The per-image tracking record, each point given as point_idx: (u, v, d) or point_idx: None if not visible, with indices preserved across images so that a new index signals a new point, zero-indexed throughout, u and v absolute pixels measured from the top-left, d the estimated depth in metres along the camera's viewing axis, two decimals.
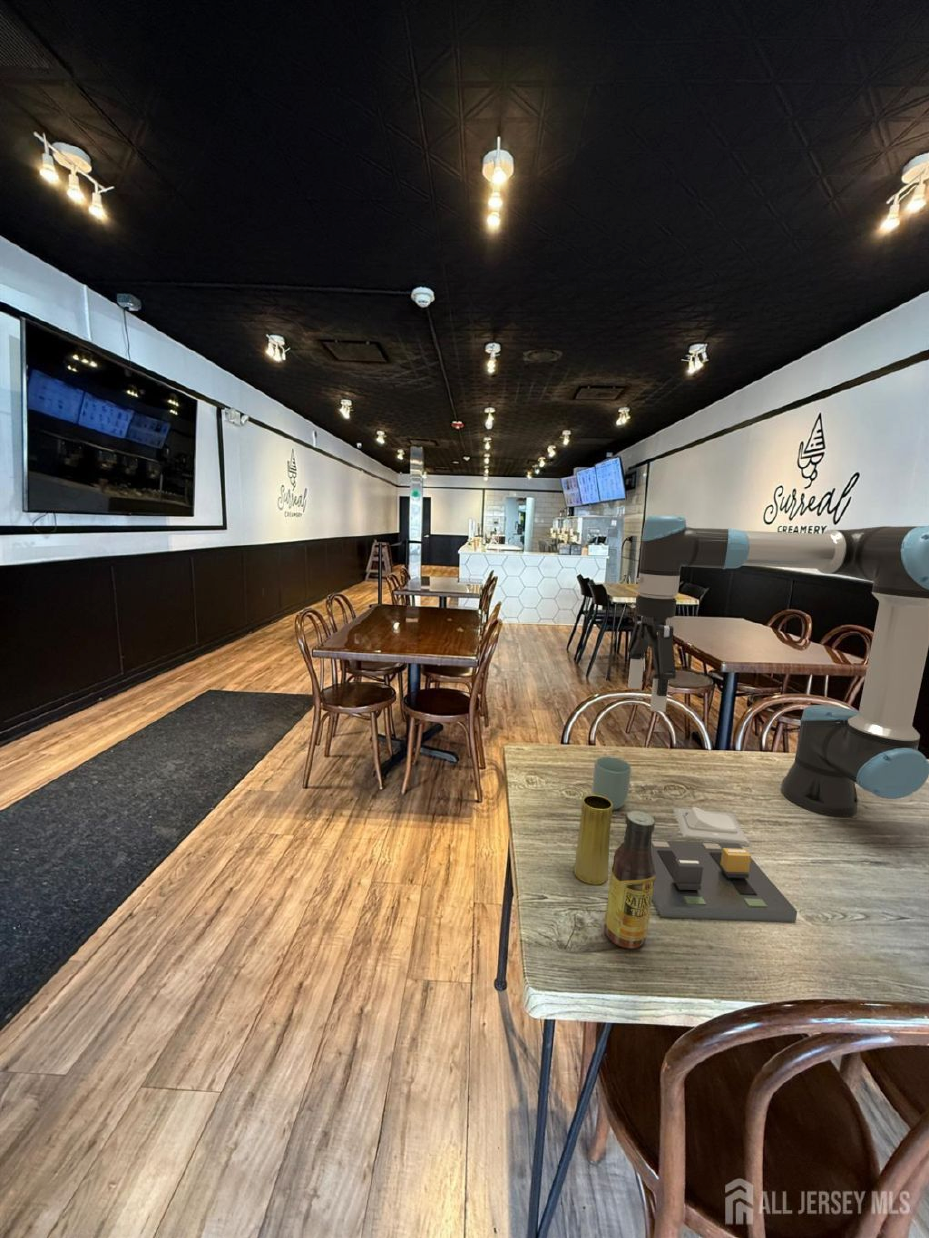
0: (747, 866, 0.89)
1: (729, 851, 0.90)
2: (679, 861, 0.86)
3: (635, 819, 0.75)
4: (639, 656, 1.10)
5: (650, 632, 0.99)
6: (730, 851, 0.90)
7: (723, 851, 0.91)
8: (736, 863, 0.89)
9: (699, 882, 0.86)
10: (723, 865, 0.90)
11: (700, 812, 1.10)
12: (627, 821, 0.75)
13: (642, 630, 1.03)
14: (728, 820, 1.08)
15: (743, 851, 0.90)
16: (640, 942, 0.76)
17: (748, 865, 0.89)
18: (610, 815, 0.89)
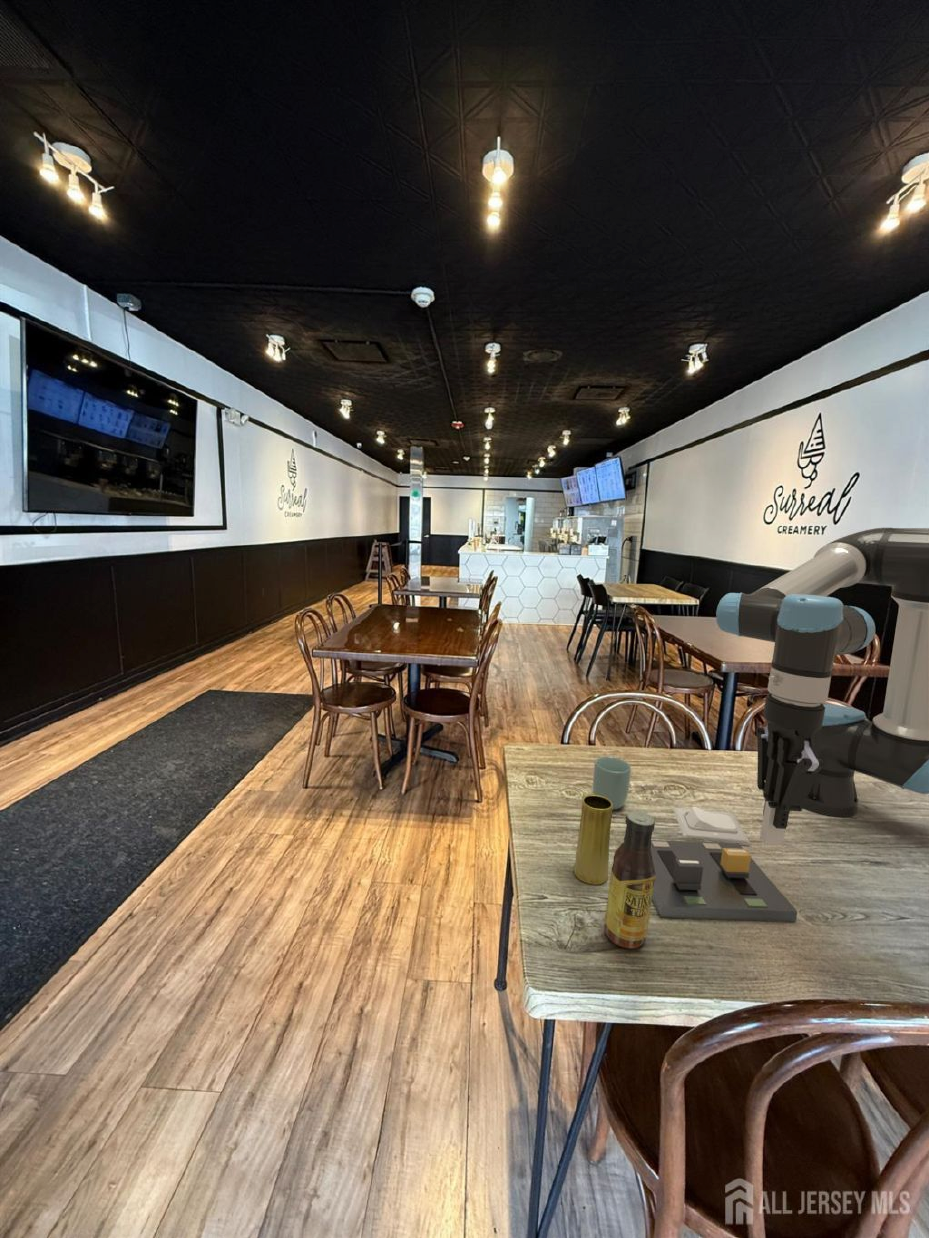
0: (747, 866, 0.89)
1: (729, 851, 0.90)
2: (679, 861, 0.86)
3: (635, 819, 0.75)
4: None
5: (786, 750, 0.75)
6: (730, 851, 0.90)
7: (723, 851, 0.91)
8: (736, 863, 0.89)
9: (699, 882, 0.86)
10: (723, 865, 0.90)
11: (700, 811, 1.10)
12: (627, 821, 0.75)
13: (774, 740, 0.78)
14: (728, 819, 1.08)
15: (743, 851, 0.90)
16: (640, 942, 0.76)
17: (748, 865, 0.89)
18: (610, 815, 0.89)
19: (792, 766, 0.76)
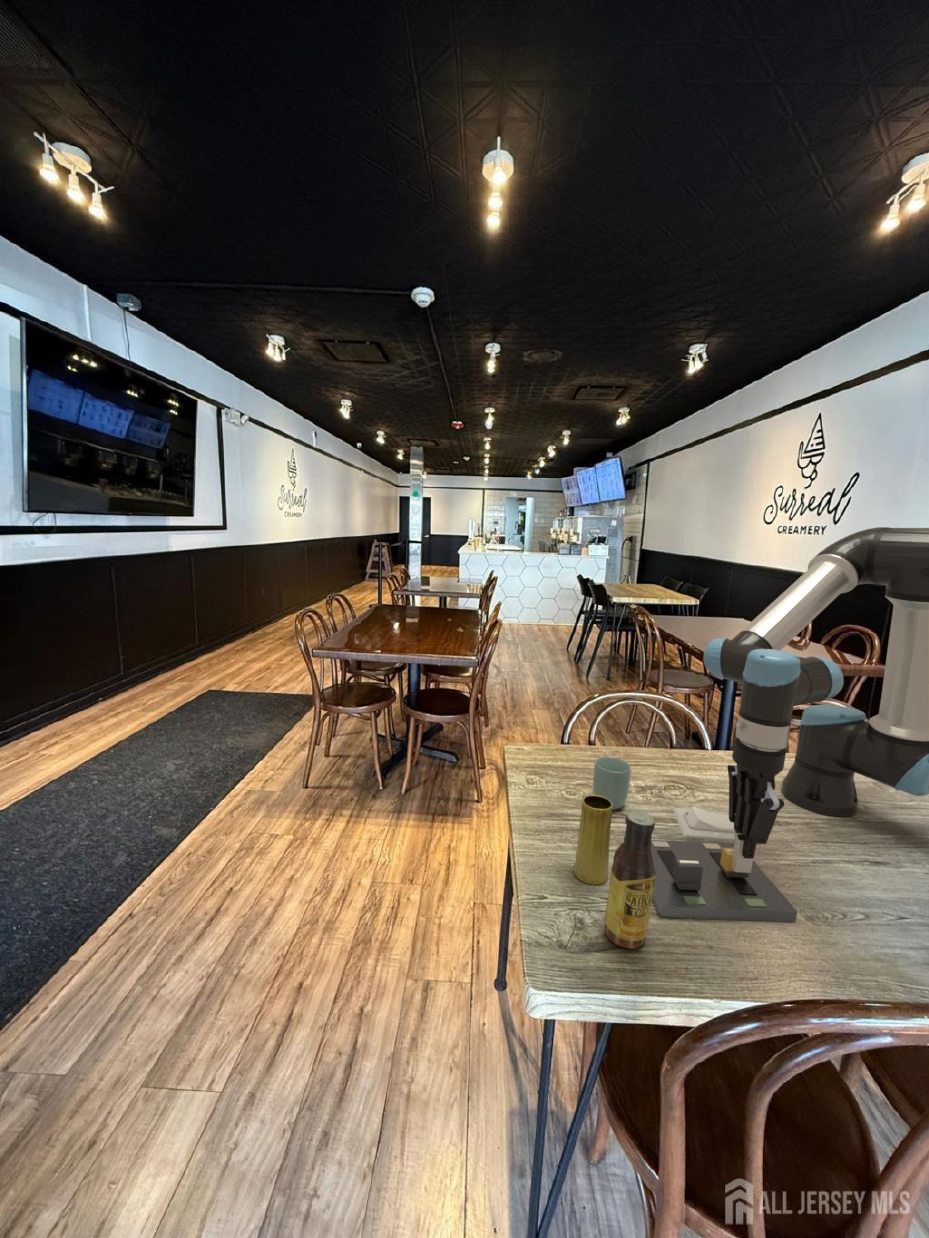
0: None
1: (729, 851, 0.90)
2: (679, 861, 0.86)
3: (635, 819, 0.75)
4: None
5: (752, 790, 0.84)
6: (730, 851, 0.90)
7: (723, 851, 0.91)
8: None
9: (699, 882, 0.86)
10: (723, 865, 0.91)
11: (700, 811, 1.10)
12: (627, 821, 0.75)
13: (742, 779, 0.86)
14: (728, 819, 1.09)
15: None
16: (640, 942, 0.76)
17: None
18: (610, 815, 0.89)
19: (757, 803, 0.84)
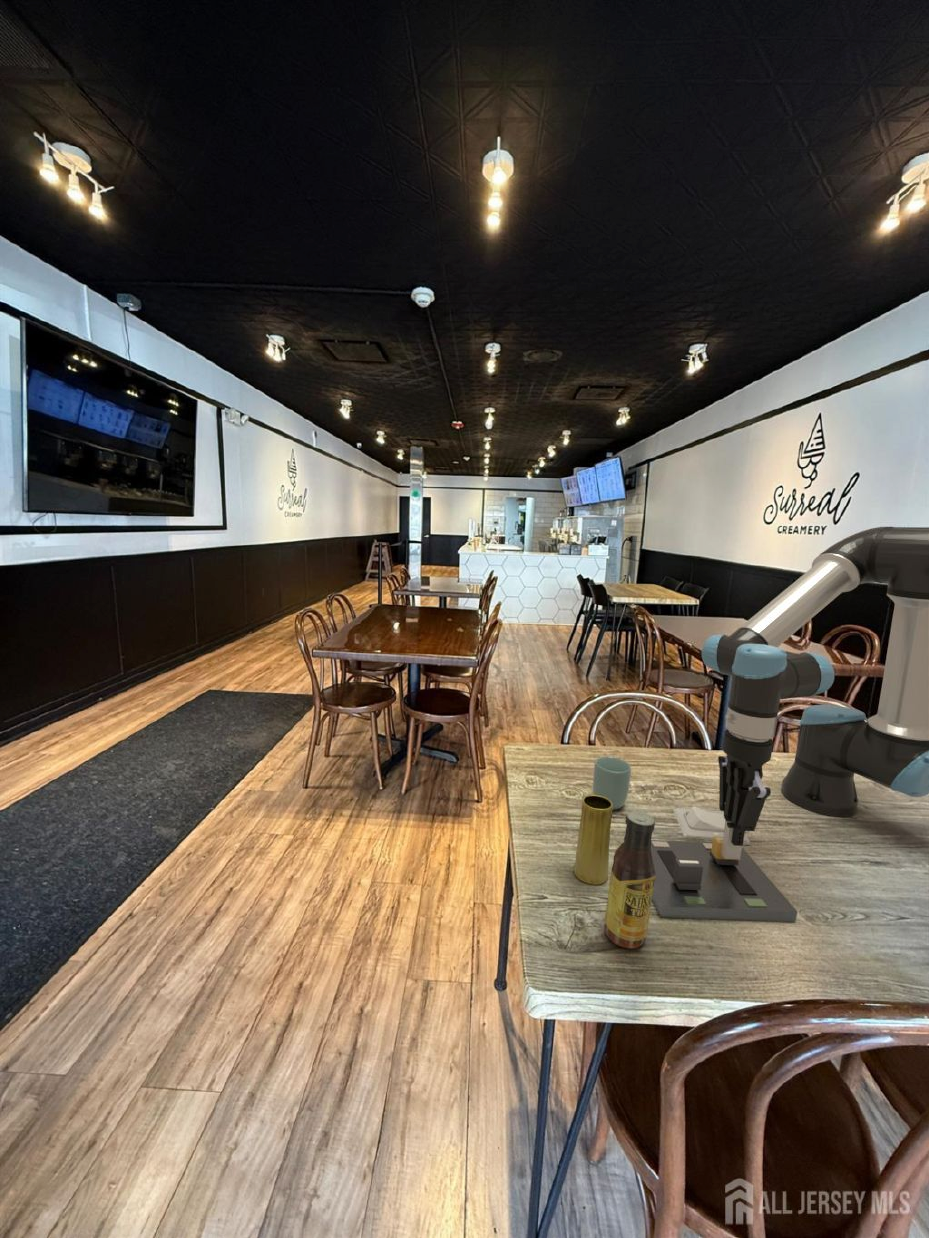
0: None
1: (719, 839, 0.93)
2: (679, 861, 0.86)
3: (635, 819, 0.75)
4: None
5: (740, 779, 0.87)
6: (720, 839, 0.93)
7: (714, 839, 0.94)
8: None
9: (699, 882, 0.86)
10: (714, 853, 0.94)
11: (700, 811, 1.10)
12: (627, 821, 0.75)
13: (732, 769, 0.90)
14: None
15: None
16: (640, 942, 0.76)
17: None
18: (610, 815, 0.89)
19: (746, 792, 0.88)
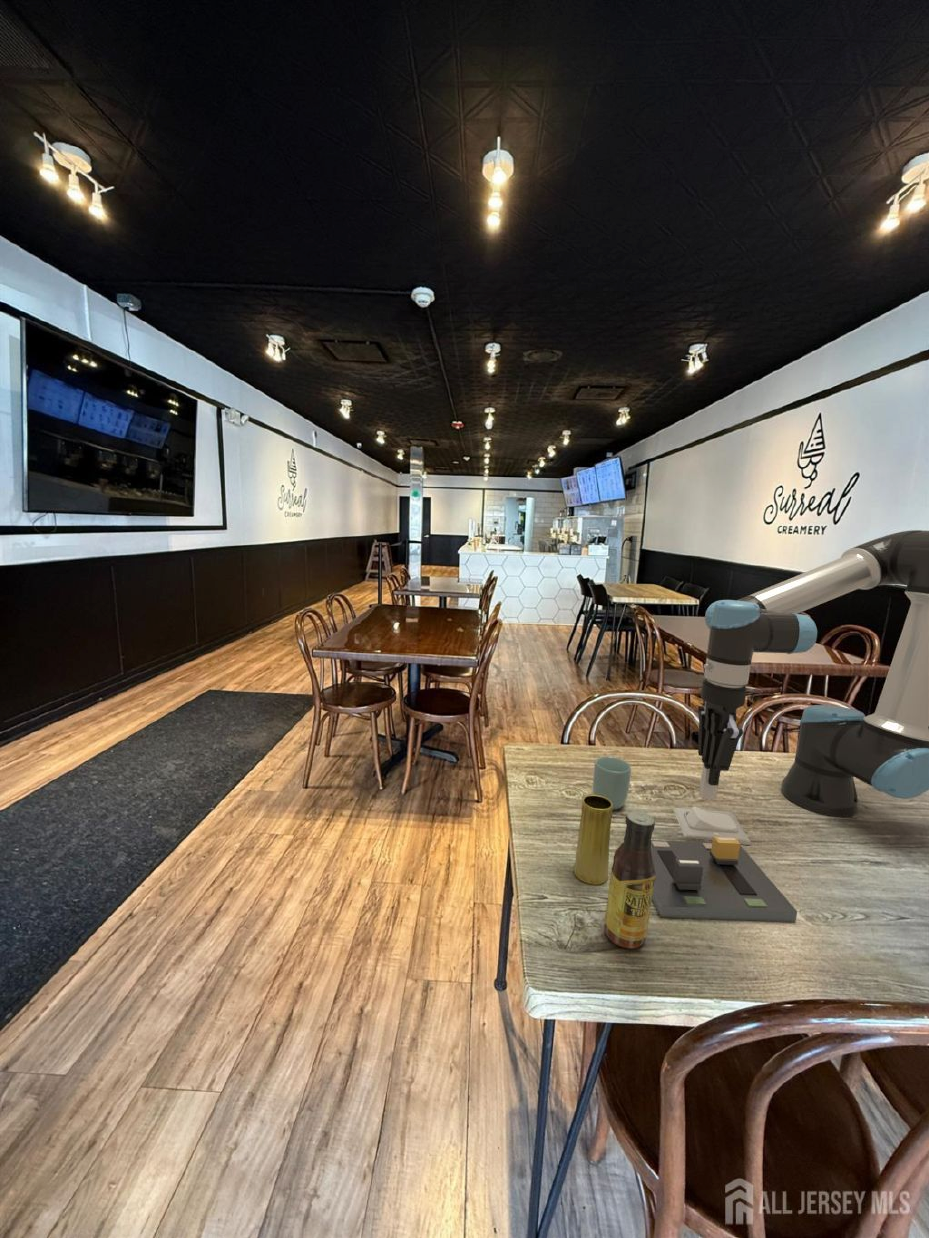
0: (736, 853, 0.93)
1: (719, 839, 0.93)
2: (679, 861, 0.86)
3: (635, 819, 0.75)
4: None
5: (716, 723, 0.96)
6: (720, 839, 0.93)
7: (713, 839, 0.94)
8: (726, 851, 0.93)
9: (699, 882, 0.86)
10: (713, 852, 0.94)
11: (700, 811, 1.10)
12: (627, 821, 0.75)
13: (709, 715, 0.98)
14: (728, 819, 1.09)
15: (733, 839, 0.93)
16: (640, 942, 0.76)
17: (737, 852, 0.93)
18: (610, 815, 0.89)
19: (722, 735, 0.96)
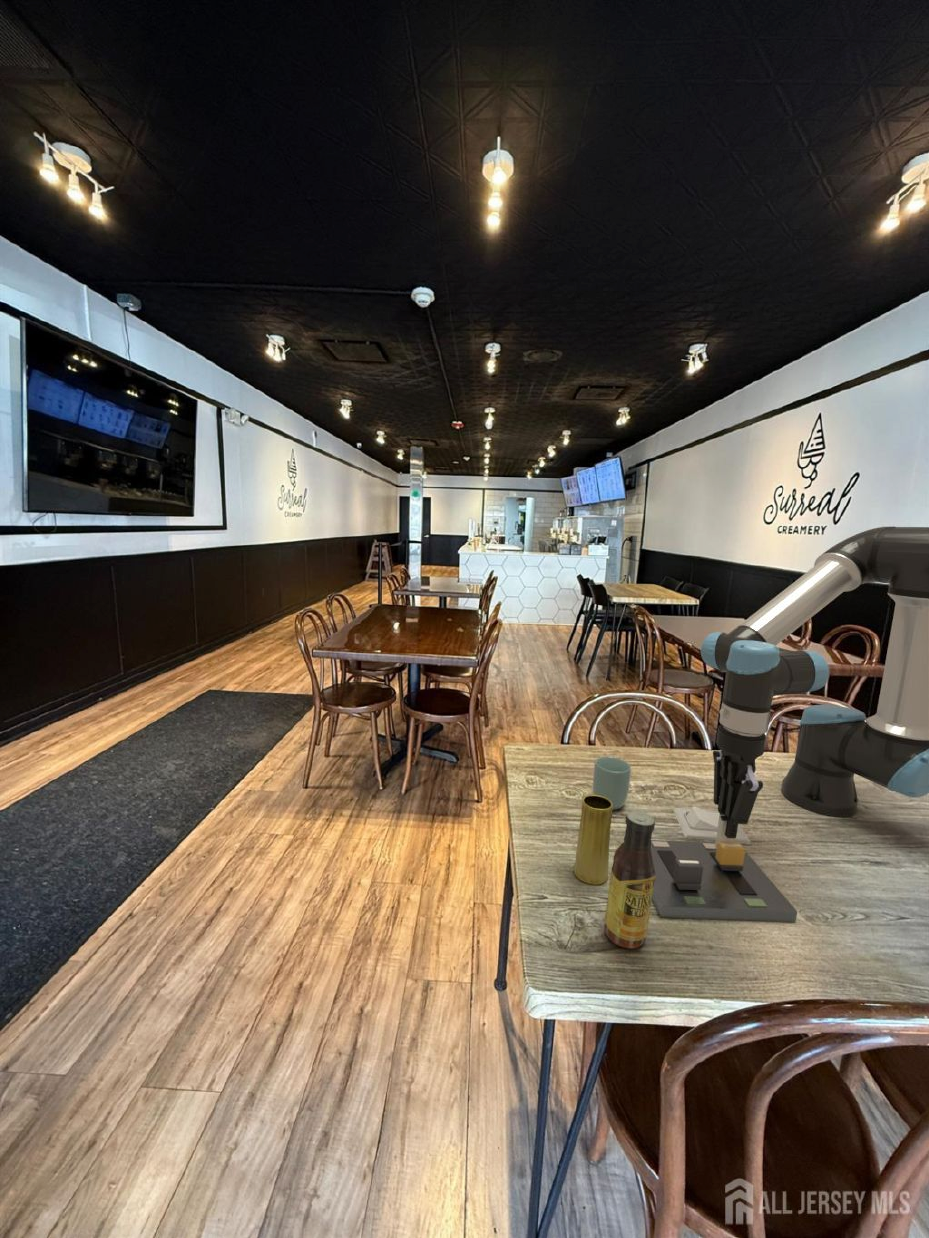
0: (741, 859, 0.91)
1: (724, 844, 0.92)
2: (679, 861, 0.86)
3: (635, 819, 0.75)
4: None
5: (734, 773, 0.89)
6: (725, 844, 0.92)
7: (718, 845, 0.92)
8: (731, 857, 0.91)
9: (699, 882, 0.86)
10: (718, 858, 0.92)
11: (700, 811, 1.10)
12: (627, 821, 0.75)
13: (725, 763, 0.92)
14: None
15: (737, 844, 0.92)
16: (640, 942, 0.76)
17: (742, 858, 0.91)
18: (610, 815, 0.89)
19: (739, 786, 0.90)
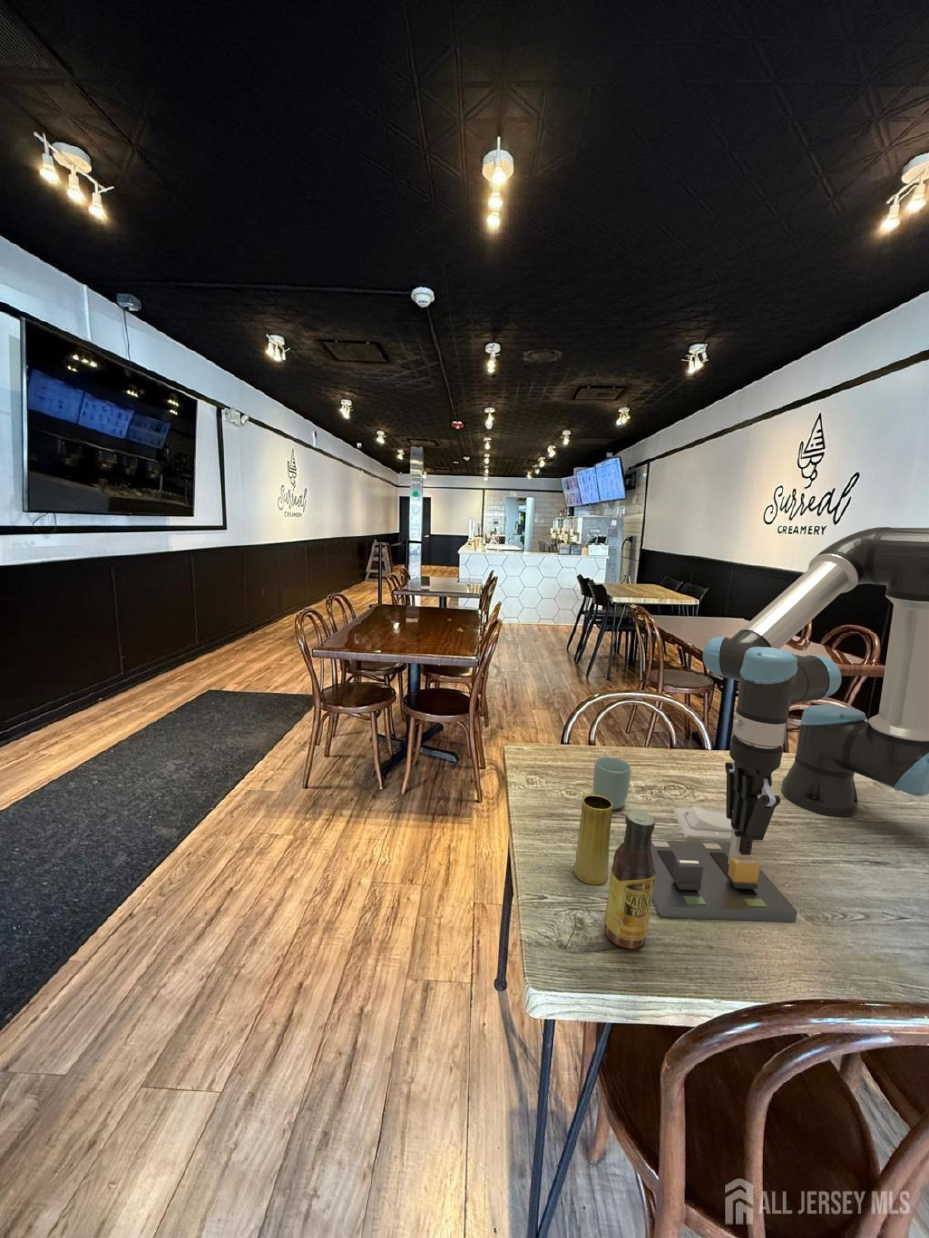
0: (756, 876, 0.87)
1: (737, 861, 0.87)
2: (679, 861, 0.86)
3: (635, 819, 0.75)
4: None
5: (748, 786, 0.85)
6: (738, 861, 0.87)
7: (731, 861, 0.88)
8: (744, 874, 0.87)
9: (699, 882, 0.86)
10: (731, 875, 0.88)
11: (700, 811, 1.10)
12: (627, 821, 0.75)
13: (739, 776, 0.87)
14: None
15: (751, 861, 0.87)
16: (640, 942, 0.76)
17: (757, 875, 0.87)
18: (610, 815, 0.89)
19: (754, 800, 0.85)
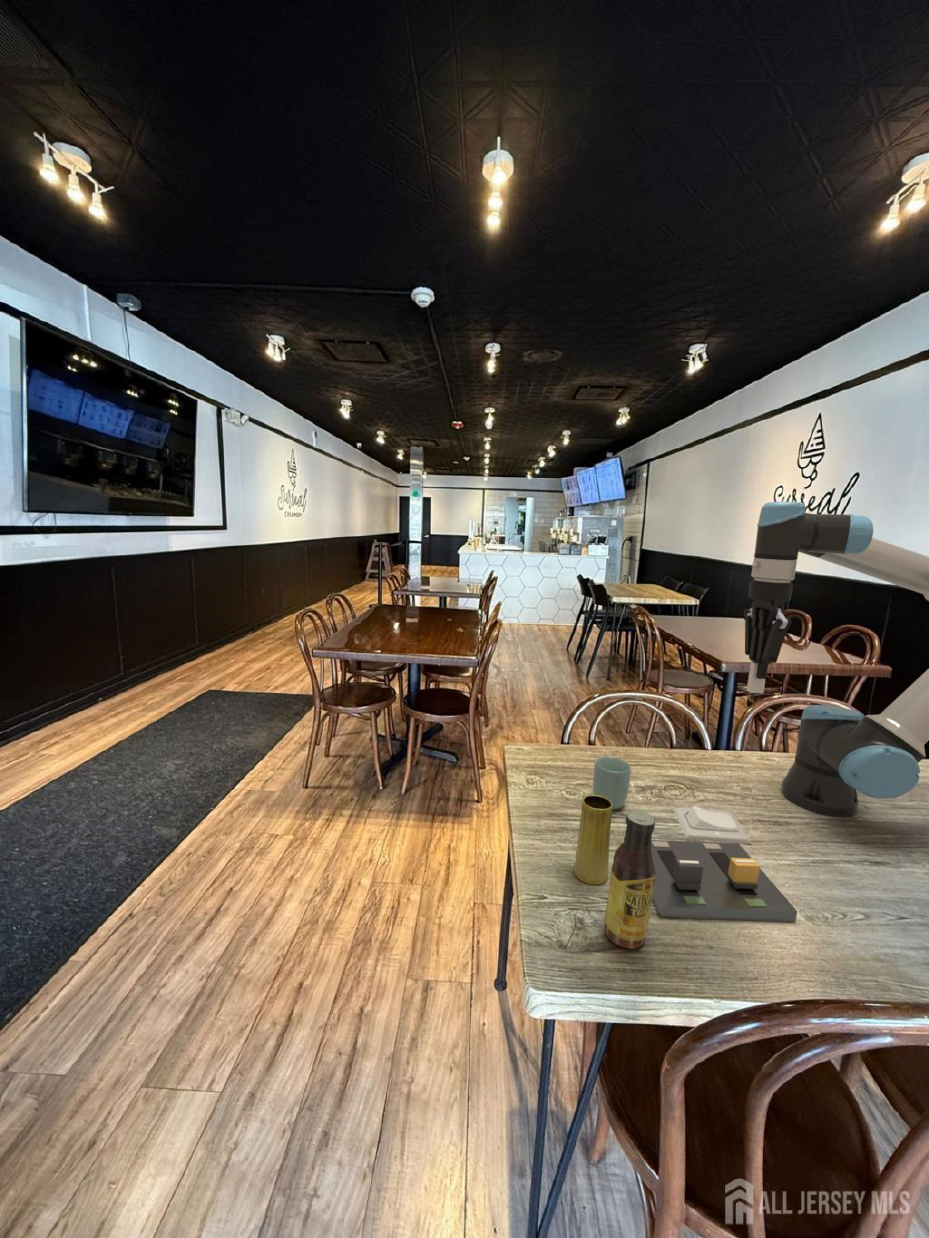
0: (756, 876, 0.87)
1: (737, 861, 0.87)
2: (679, 861, 0.86)
3: (635, 819, 0.75)
4: None
5: (764, 618, 1.02)
6: (738, 861, 0.87)
7: (731, 861, 0.88)
8: (745, 874, 0.87)
9: (699, 882, 0.86)
10: (731, 875, 0.88)
11: (700, 811, 1.10)
12: (627, 821, 0.75)
13: (756, 613, 1.05)
14: (728, 818, 1.09)
15: (751, 861, 0.87)
16: (640, 942, 0.76)
17: (757, 875, 0.87)
18: (610, 815, 0.89)
19: (769, 630, 1.03)
